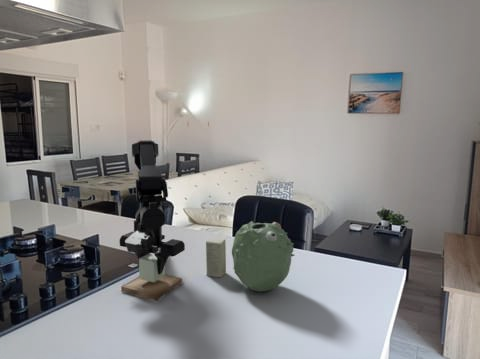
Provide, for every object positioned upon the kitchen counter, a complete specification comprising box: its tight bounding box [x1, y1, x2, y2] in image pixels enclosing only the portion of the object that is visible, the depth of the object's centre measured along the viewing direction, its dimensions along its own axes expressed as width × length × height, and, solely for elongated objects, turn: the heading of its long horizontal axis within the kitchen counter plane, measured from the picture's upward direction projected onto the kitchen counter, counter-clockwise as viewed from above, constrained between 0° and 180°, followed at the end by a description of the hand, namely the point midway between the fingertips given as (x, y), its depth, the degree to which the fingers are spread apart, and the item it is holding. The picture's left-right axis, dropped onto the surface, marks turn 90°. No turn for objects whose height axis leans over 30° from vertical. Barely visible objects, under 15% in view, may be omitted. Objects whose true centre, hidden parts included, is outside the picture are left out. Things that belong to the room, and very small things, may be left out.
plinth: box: [120, 273, 183, 302], centre depth 103 cm, size 12×12×2 cm
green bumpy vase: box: [231, 220, 296, 293], centre depth 102 cm, size 16×19×20 cm
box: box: [205, 237, 227, 278], centre depth 112 cm, size 5×4×11 cm
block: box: [138, 252, 166, 282], centre depth 102 cm, size 5×5×6 cm
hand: (152, 272), depth 103 cm, fingers closed on block, 5 cm apart
